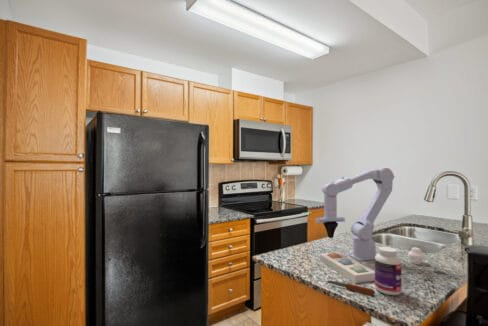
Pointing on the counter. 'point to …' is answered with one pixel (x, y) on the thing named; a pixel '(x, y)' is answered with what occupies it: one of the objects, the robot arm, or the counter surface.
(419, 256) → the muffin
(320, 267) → the counter surface
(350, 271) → the button panel
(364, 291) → the kitchen knife
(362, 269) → the green button
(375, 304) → the counter surface
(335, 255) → the terracotta button
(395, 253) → the pill bottle
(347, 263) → the blue button
